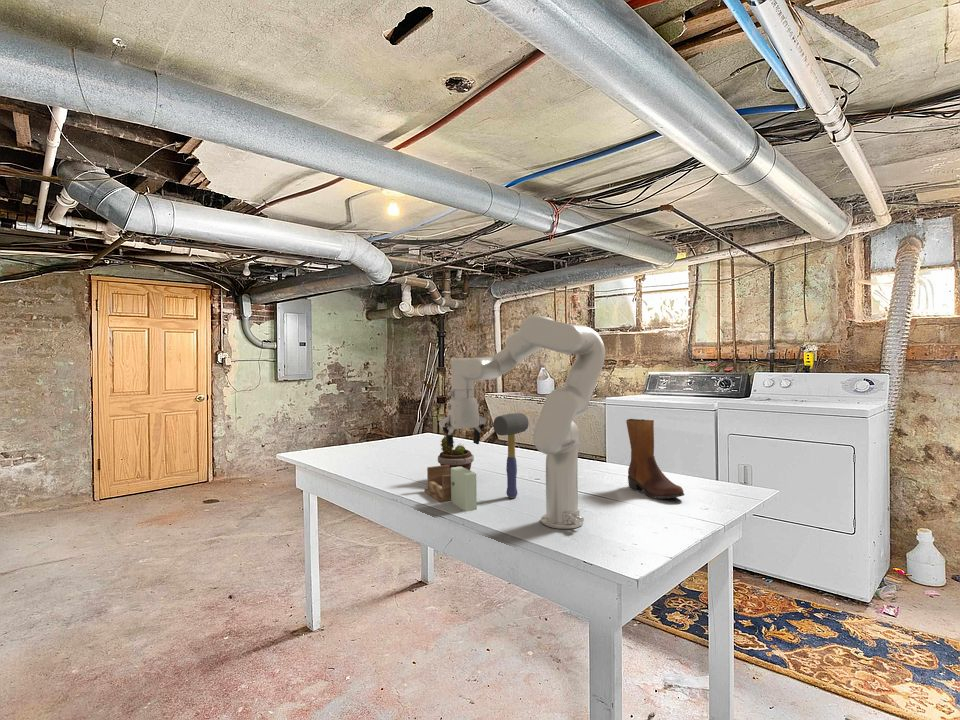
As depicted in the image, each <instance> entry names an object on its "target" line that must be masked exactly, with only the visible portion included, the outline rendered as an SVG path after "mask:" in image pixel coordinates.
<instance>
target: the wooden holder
mask: <svg viewBox="0 0 960 720" xmlns="http://www.w3.org/2000/svg"><path fill="white" fill-rule="evenodd" d="M426 469H427V470H426V471H427V474H426V475H427V488H424V493H426V494H428V495H429V496H430V497H431V498H433V499H435V500H437V501H438V502H439V503H447V502H451V474H450V465H442V466H440V465H435V466H427V468H426Z"/></svg>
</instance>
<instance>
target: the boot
mask: <svg viewBox="0 0 960 720" xmlns="http://www.w3.org/2000/svg"><path fill="white" fill-rule="evenodd" d="M625 423H626V428H627V433H628V438H629V444H630V463H629V466H628V468H627V483H628V488H629V489H631V490H633V491H636V492H640V491H643V492H644V493H645V495H646V496H648V497H649V498H652V499H659V500H660V499H672V498H673V499H674V498H679V497H682V496H683V497H684V496H685V493H684V489H683V488H682V486H680V485H677V484H675V483H673V482H672V481H671V480H670V479H669V478H668V477H667V476H666V474H664V473H663V472H662V470H661V469H660V467H659V465H658V464H657V461H656V458H655V429H654V428H655V427H654V425H655V420H654V419H653V420H652V419H638V418H637V419H636V418H628V419H626V420H625Z"/></svg>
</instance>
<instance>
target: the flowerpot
mask: <svg viewBox="0 0 960 720" xmlns="http://www.w3.org/2000/svg"><path fill="white" fill-rule="evenodd" d="M439 442H440V443H439V446H440V450H441V452H440V453H439V454H438V456H437V462H438V463H439V466H442V465H450V474H451V468H453V467H463V468H466V469H468V470H470V471H471V467H472V463H473V462H474V461H475V460H474V458H475V456H474V454H473V453H472V452H471V450H468V449H466V447H465V446H464V445H465V444H464V443H463V444H461V443H458V444H457V445H456V447H455V439H453V447H450V446H448V444H447V438H446V434H443V437H442V438H441V439H440V440H439Z"/></svg>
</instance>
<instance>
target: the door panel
mask: <svg viewBox="0 0 960 720" xmlns="http://www.w3.org/2000/svg"><path fill="white" fill-rule="evenodd" d="M477 492H478V491H477V473H476V472H474V471H472V470H471V469H470V470H468V469H466V468H463V467H453V468H451V501H450V502H451V503H452V504H453V505H455V506H456V507H458V508H460V509H461V510H463V511H464V512H470V511H471V512H472V511H476V510H478V509H477V508H478V506H477V503H478V501H477V500H478V498H477Z"/></svg>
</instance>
